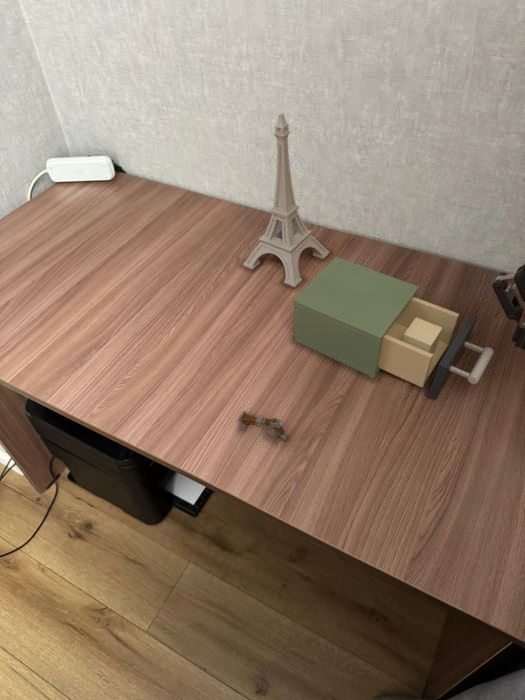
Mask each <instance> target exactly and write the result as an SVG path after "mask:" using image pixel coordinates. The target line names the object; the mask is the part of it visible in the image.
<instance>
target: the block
mask: <svg viewBox="0 0 525 700" xmlns="http://www.w3.org/2000/svg"><path fill="white" fill-rule="evenodd" d="M441 332H442V327H439V326H437V325H434V324H432V323H429V322H427V321H424V320H422V319H419V318H415V319H414V321H413V322H412V323H411V325H410V326H409V328H408V329H407V330H406V332H405V333H404V336H403V342H405V343H407V344H410V345H412V346H414V347H417V348H419V349H422V350H424V351H426V352H429V353H431V354H434V353H435V351H436V348H437V345H438V342H439V338H440V335H441Z"/></svg>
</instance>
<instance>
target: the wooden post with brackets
mask: <svg viewBox="0 0 525 700" xmlns="http://www.w3.org/2000/svg"><path fill="white" fill-rule="evenodd" d="M237 421H238V422H239V424H240V425H241V427H246V425H247V424H250V425H254V424H255V425H257V426H262V427H267V426H270V428H269V429H267V430H266V433H267V435H268V436H269V437H274V439H276V438H277V437H279V436H280V437H281V439H282V440H283V441H285V442H287V441H288V439H289V436H288V434H287V431H285V430H284V429H283V426H284V422H283V421H282V420H281V419H280V418H276V417H272V419H271V418H268V417H265V416H254V415H250V414H248V413H247V412H246V410H242V411H241V413H240V414H239V416H238V417H237Z"/></svg>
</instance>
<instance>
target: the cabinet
mask: <svg viewBox="0 0 525 700" xmlns="http://www.w3.org/2000/svg"><path fill="white" fill-rule="evenodd" d="M419 290H420V286H418V285H416V284H413V283H410V282H407V281H404V280H402V279H399V278H396V277H393V276H390V275H388V274H385V273H383V272H379V271H377V270H374V269H371V268H368V267H366V266H363V265H361V264H357V263H355V262H352V261H350V260H346V259H343V258H341V257H338V256H335V257H334V258H333V259H332V260H331V261H330V262H329V263H328V264H327V265H326V266H325V267H324V269H323V270H321V272H320V273H318V275H316V276H315V278H314V279H313V280H312V281H311V282H310V283H309V284H308V285H306V287H305V288H304V289H303V290H302V291H301V292H300V293H299V294H298V295H297V296H296V297H295V298H294V299H293V327H294V329H293V330H294V331H293V333H294V342H296V343H298V344H300V345H303V346H305V347H306V348H309V349H311V350H313V351H315V352H317V353H320V354H321V355H323V356H326V357H328V358H330V359H333V360H335V361H336V362H338V363H341V364H342V365H345V366H347V367H349V368H351V369H353V370H356V371H358V372H360V373H362V374H364V375H366V376H367V377H368V376H369V377H371V378H372V379H374V378H376V376H377V375H378V373H379V372H380V370H381V369H380V368H378V362H379V356H380V351H381V345H382V339H383V337H384V336H385V335H386V333H387V332H388V331H389V329H390V328H391V327H392V325H393V324H394V323H395V321H396V320H397V319H398V317H399V316H400V315H401V313H402V312H403V311H404V309H405V308H406V306H407V305H408V304H409V302H410V301H411V300H412V298H413V297H415V298H418V293H419Z"/></svg>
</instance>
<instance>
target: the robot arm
mask: <svg viewBox="0 0 525 700" xmlns="http://www.w3.org/2000/svg"><path fill="white" fill-rule="evenodd" d="M491 287H492V289H493V291H494V294H495V295H496V296H495V297H497V301H498V302H499V304H500V307H501V308H502V311H503V312H504V314H505V316H506V318H507V319H508V320H511V321H515V322H516V323H517V326H516V329H515V331H514V333H513V335H512V336H511V342H513V343H515V344H514V347H515V348H518V349H521V350H523V351H525V306H524V307H522V306H523V305H522V303H521V301H520V299H519V297H518V294H517V292H516V289H515V287H516V288H517V291H518V293H519V296H520V298H521V300H522V302H523V303H525V263H523V264H522V265H521V266H519V267H518V268H517V270H516V272H515V273H510V274H508V273H507V272H504V271H502V272H499V273H498V274H497V276H496V278H495V279H494V282H493V283H492V285H491Z"/></svg>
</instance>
